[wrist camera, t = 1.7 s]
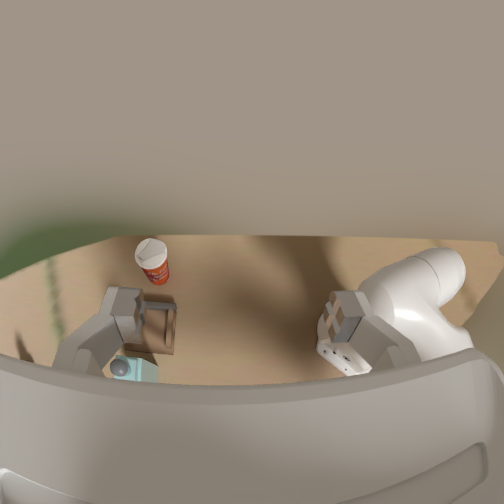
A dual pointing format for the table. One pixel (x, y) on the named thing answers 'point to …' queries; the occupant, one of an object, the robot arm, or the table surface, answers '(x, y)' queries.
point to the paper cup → (153, 260)
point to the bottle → (134, 369)
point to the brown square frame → (157, 329)
